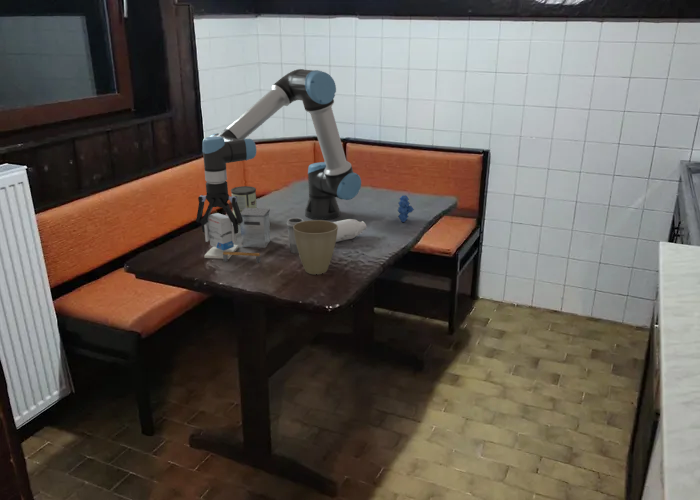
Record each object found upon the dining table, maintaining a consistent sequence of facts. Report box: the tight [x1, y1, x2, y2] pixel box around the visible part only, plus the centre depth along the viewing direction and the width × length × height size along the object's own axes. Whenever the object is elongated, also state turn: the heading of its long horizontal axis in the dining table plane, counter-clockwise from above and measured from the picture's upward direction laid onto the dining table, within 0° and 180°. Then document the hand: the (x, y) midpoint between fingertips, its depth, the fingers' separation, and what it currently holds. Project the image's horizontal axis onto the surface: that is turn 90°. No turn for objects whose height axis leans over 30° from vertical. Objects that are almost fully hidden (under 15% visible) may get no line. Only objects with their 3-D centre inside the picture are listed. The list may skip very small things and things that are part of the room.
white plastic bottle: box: [332, 218, 367, 243], centre depth 239 cm, size 8×19×8 cm, turn 123°
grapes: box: [397, 194, 415, 223], centre depth 259 cm, size 12×7×12 cm, turn 163°
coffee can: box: [230, 185, 258, 226], centre depth 260 cm, size 10×10×14 cm
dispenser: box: [222, 208, 271, 264], centre depth 227 cm, size 13×24×13 cm, turn 173°
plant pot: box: [293, 219, 338, 275], centre depth 208 cm, size 15×15×16 cm
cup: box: [286, 217, 305, 254], centre depth 227 cm, size 7×7×12 cm
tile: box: [204, 244, 239, 260], centre depth 227 cm, size 9×12×1 cm
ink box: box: [207, 212, 235, 250], centre depth 225 cm, size 9×5×12 cm, turn 47°
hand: (221, 241), depth 226 cm, fingers closed on ink box, 9 cm apart
